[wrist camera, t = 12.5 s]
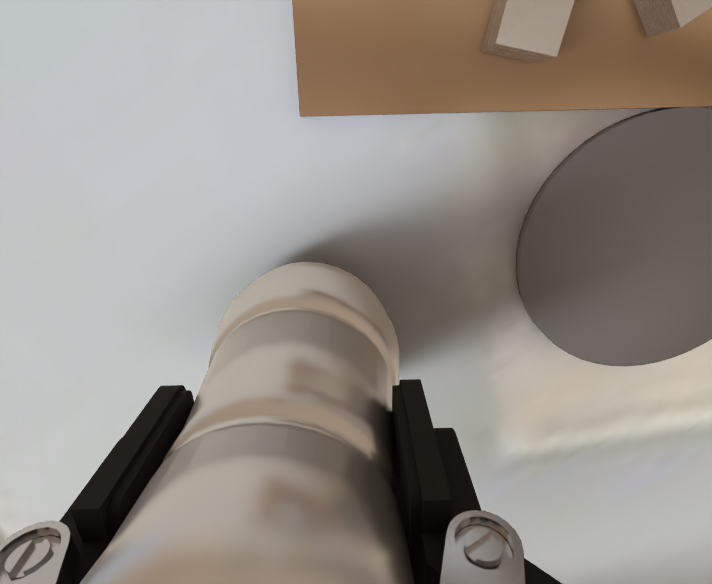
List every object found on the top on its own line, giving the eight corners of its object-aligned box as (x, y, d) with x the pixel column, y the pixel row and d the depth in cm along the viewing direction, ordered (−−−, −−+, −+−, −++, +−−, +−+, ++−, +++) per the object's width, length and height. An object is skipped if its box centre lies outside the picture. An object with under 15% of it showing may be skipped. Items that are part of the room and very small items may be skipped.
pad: (735, 357, 18) (745, 363, 18) (503, 362, 18) (507, 369, 18) (823, 103, 15) (839, 103, 14) (534, 110, 15) (540, 110, 14)
